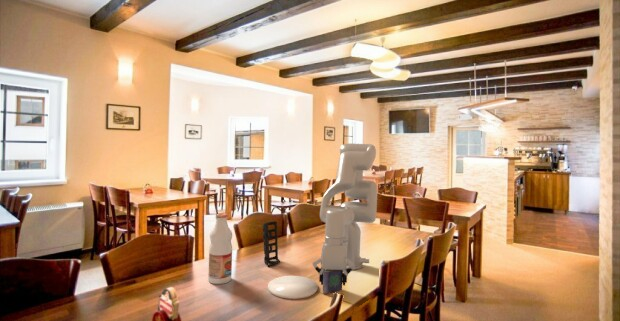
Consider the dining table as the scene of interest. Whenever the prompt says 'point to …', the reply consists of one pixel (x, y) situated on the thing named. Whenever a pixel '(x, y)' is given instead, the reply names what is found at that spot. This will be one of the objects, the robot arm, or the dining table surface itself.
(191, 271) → the dining table surface
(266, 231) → the holder
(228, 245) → the fruit juice
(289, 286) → the plate
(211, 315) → the dining table surface
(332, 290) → the flask
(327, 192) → the robot arm
